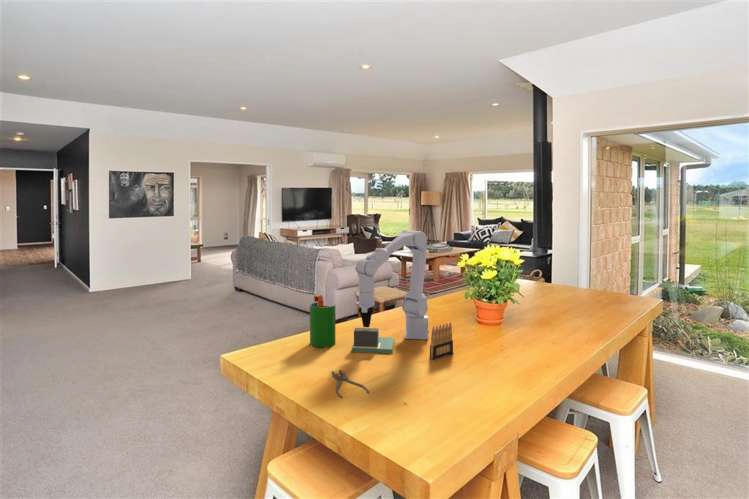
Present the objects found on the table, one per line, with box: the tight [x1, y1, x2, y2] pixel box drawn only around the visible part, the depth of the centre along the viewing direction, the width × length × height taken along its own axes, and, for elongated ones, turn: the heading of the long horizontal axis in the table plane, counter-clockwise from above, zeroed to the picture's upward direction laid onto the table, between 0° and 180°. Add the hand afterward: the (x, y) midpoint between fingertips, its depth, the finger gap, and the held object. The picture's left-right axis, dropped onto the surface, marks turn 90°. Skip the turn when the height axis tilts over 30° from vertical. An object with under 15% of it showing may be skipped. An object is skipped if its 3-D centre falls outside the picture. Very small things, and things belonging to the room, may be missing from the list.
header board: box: [351, 336, 395, 354], centre depth 177 cm, size 15×14×4 cm
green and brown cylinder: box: [309, 294, 336, 349], centre depth 179 cm, size 10×9×20 cm
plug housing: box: [353, 327, 380, 347], centre depth 174 cm, size 9×4×6 cm, turn 85°
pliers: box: [331, 369, 370, 399], centre depth 143 cm, size 10×1×20 cm
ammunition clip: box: [429, 321, 454, 361], centre depth 166 cm, size 11×2×12 cm, turn 129°
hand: (366, 326), depth 173 cm, fingers closed
